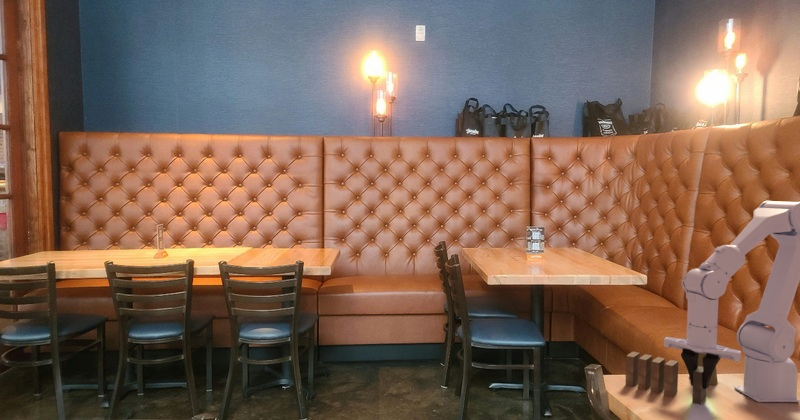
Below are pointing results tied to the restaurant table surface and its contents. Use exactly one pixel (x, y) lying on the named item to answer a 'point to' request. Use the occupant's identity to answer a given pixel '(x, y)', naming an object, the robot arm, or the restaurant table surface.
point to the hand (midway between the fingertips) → (699, 386)
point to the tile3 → (657, 374)
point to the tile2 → (671, 378)
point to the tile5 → (632, 368)
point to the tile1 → (698, 386)
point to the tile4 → (644, 372)
